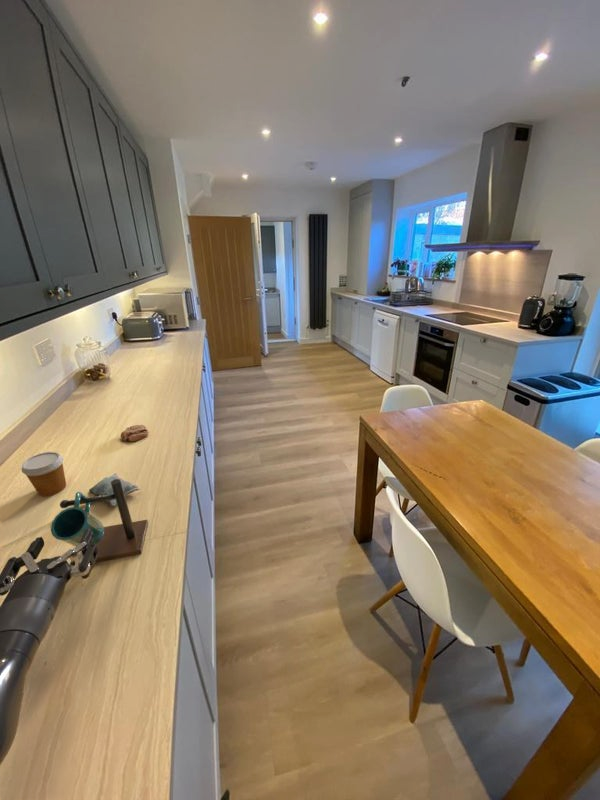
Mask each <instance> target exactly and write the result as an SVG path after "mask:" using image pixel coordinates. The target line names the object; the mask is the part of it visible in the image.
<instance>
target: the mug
mask: <svg viewBox="0 0 600 800" xmlns="http://www.w3.org/2000/svg"><path fill="white" fill-rule="evenodd" d="M83 498H88V497H87V496H86V495H85V494H83V493H82V492H80V491H77V492H76V493H75V496H74V500H75V502H74V505H73V506H69V507H67V508H64V509H63V510H61V511H60V512H59V513H58V514H57V515H56V516H55V517H54V519H53V520H52V522H51V524H50V532H51V535H52V537H53V538H55V539H56V540H58V541H60V542H63V543H65V544H66V545H69V546H71V547H74V548H75V547H77V546H78V545H79V544H80V541H81V539H82V536H83V534H84V532H85V530H86V529H91V531H92V532H93V534H94V540H93V542H95V543H96V544H97V543H98V542H99V541H100V540H101V538H102V537H103V534H104V527H105V525H104V523H103V522H102V521H101V520H100V519H99V518H97V517H95V516H94V515H92V514H91V513H90V510H91V503H86V504H84V508H82V507H80V505H81V504H80V499H83ZM93 542H92V543H93Z"/></svg>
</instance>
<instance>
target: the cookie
mask: <svg viewBox="0 0 600 800" xmlns="http://www.w3.org/2000/svg"><path fill="white" fill-rule="evenodd" d="M148 436H149V430H148V428H147V427H146V426H145V425H144V424H135V425H131V426H129V427H126V428H125V430H124V431H122V432H121V433H120V439H121V440H122V441H123V442H138V441H140V440H142V439H145V438H147V437H148Z"/></svg>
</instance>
